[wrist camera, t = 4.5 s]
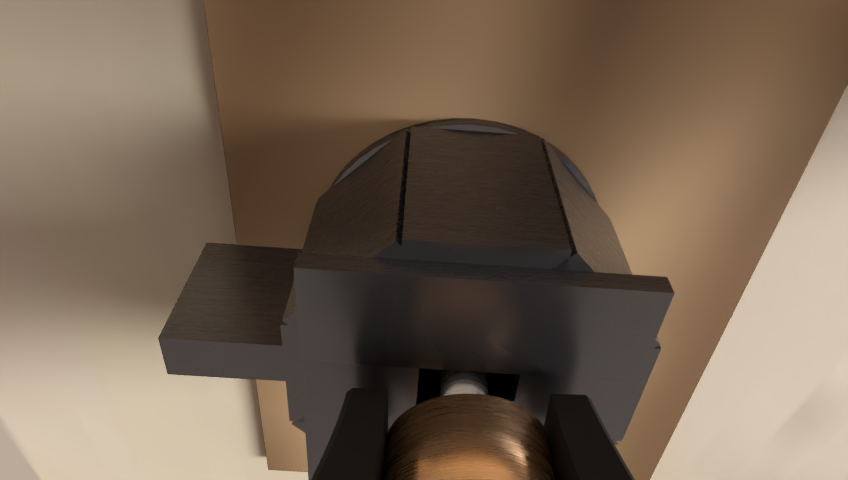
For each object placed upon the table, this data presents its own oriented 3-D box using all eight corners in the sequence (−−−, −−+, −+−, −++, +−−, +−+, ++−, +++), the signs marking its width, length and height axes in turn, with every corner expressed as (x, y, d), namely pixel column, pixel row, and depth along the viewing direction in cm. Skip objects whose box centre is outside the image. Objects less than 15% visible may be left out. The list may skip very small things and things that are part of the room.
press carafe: (635, 130, 13) (716, 270, 9) (568, 354, 17) (605, 516, 14) (203, 98, 13) (103, 229, 9) (239, 333, 17) (180, 492, 13)
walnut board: (916, -93, 11) (933, -89, 11) (640, 478, 22) (643, 491, 21) (192, -153, 11) (182, -151, 10) (271, 457, 21) (268, 469, 21)
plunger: (581, 190, 13) (694, 510, 7) (541, 347, 16) (599, 666, 10) (358, 175, 13) (293, 487, 7) (357, 335, 16) (310, 652, 10)
